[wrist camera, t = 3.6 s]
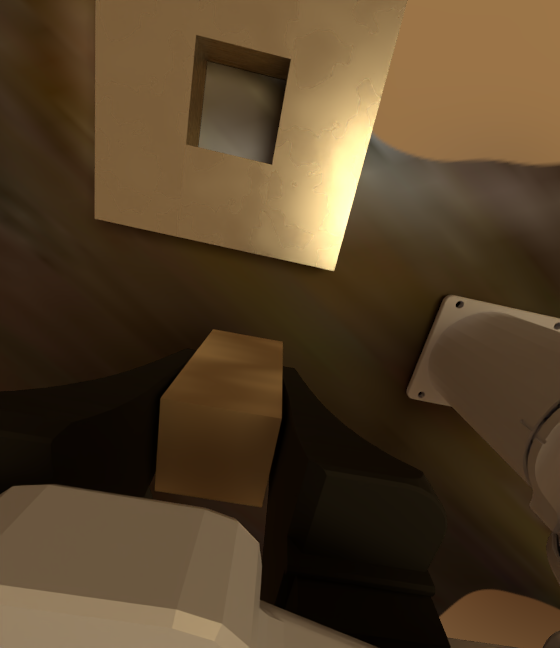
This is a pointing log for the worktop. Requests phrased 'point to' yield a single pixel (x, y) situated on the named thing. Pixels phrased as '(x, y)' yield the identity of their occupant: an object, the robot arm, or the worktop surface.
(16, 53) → the worktop surface
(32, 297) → the worktop surface
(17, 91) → the worktop surface
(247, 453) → the wooden block
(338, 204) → the plate with square hole
